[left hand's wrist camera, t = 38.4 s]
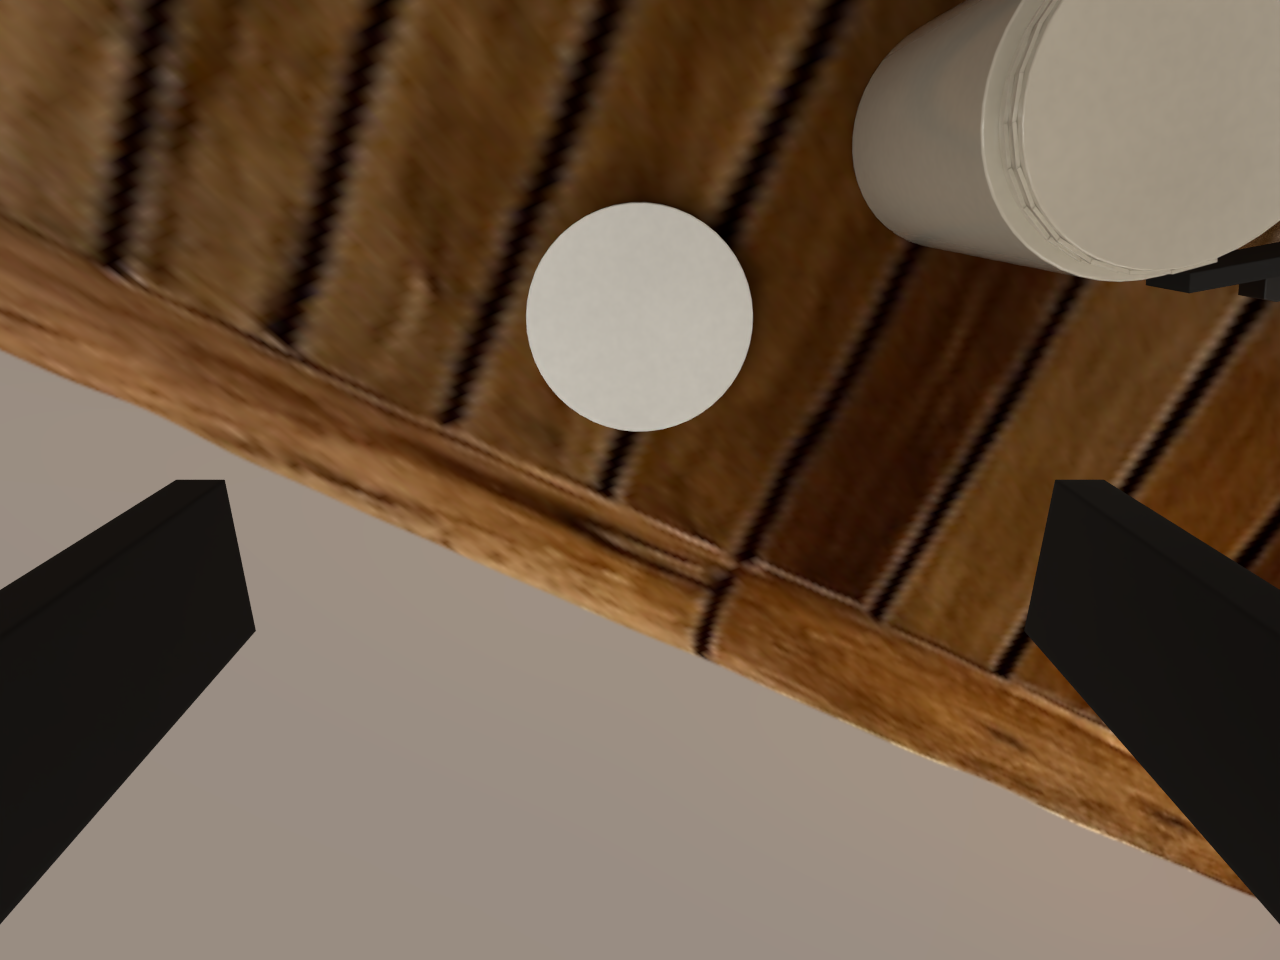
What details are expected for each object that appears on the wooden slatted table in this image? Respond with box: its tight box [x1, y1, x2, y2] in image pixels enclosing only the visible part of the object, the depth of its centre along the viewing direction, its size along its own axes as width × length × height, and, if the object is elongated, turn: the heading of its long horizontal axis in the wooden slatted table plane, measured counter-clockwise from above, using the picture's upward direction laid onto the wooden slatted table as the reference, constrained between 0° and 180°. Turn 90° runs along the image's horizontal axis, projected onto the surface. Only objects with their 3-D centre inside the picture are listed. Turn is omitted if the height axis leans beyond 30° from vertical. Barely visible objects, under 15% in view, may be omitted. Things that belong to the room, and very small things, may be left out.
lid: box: [526, 202, 753, 431], centre depth 36 cm, size 10×10×2 cm
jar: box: [852, 0, 1280, 282], centre depth 27 cm, size 10×10×16 cm
